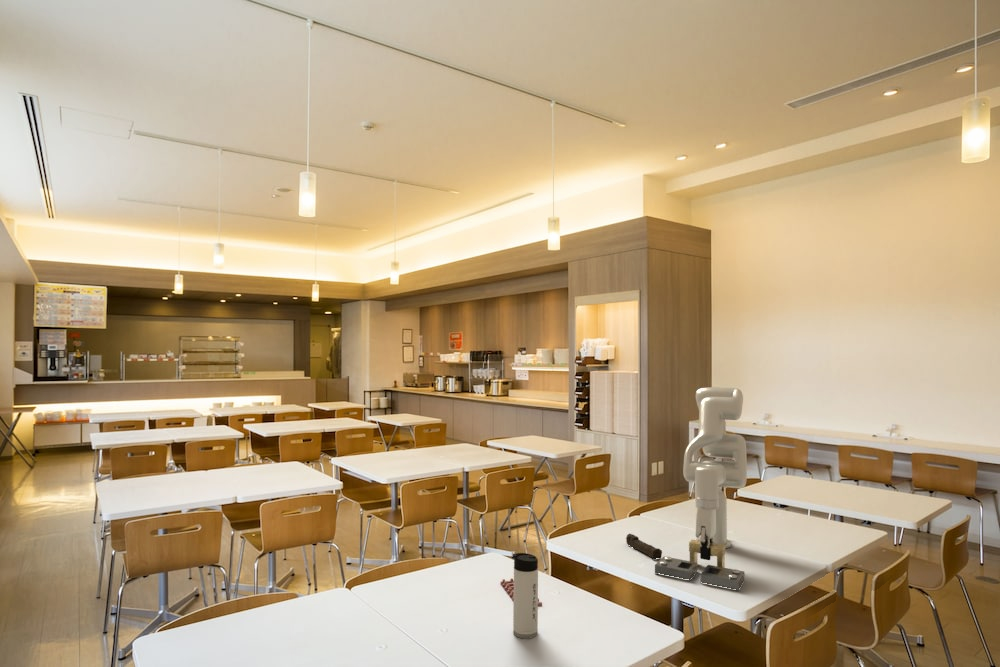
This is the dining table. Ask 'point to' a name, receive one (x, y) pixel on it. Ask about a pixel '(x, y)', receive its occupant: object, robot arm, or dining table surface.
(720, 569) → the block
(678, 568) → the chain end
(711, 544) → the link
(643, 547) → the dark brown rod
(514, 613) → the travel mug
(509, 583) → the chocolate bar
